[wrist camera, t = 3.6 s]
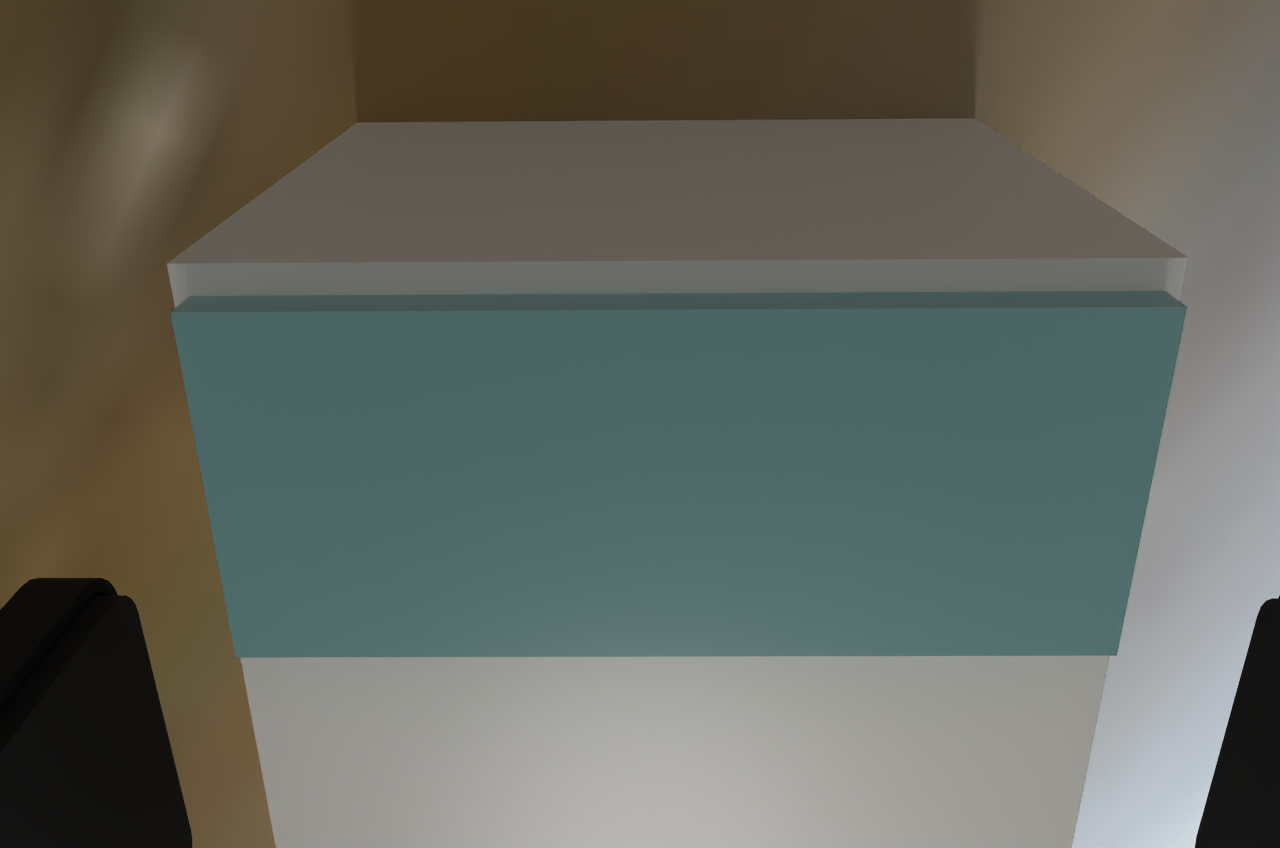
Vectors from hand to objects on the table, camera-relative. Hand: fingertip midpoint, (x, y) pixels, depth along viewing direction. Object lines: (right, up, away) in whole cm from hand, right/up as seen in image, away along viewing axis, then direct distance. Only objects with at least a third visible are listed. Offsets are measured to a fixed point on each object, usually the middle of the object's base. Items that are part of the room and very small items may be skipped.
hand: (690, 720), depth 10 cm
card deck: (0, +1, +4) cm, 4 cm away
